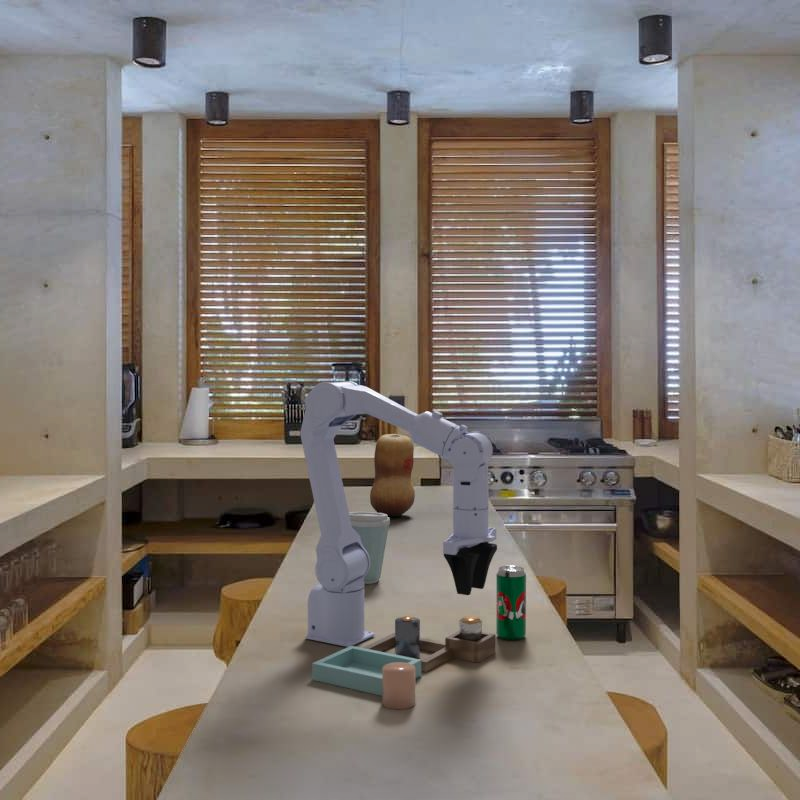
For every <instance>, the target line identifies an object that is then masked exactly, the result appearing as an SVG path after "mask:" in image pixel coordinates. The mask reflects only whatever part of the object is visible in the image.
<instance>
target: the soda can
mask: <svg viewBox="0 0 800 800" xmlns="http://www.w3.org/2000/svg"><path fill="white" fill-rule="evenodd" d="M495 576H496V578H495V579H496V582H495V584H496V587H495V588H496V592H495V593H496V596H495V598H496V599H495V600H496V602H495V603H496V605H495V606H496V611H495V612H496V615H495V616H496V625H495V626H496V627H495V628H496V635H497V637H498V638H500V639H501V640H504V641H509V640H510V641H513V642H515V641H521V640H523V639H524V638H525V636H527V574H526V572H525V568H524V567H523V566H520V565H502V566H500V567H498V571H497V572H496V575H495Z"/></svg>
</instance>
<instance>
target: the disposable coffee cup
mask: <svg viewBox="0 0 800 800" xmlns="http://www.w3.org/2000/svg"><path fill="white" fill-rule="evenodd" d="M349 516H350V521H351V525H352V528H353V529H354V530H355V531H356V532H357V533H358V534H359V535H360V538H361V542H362V545H363V547H364V548H365V550H366V551H367V552H368V554H369V557H370V568H369V571H368V572H367V574H366V575H365V576H364V585H366V584H367V585H370V584H371V585H372V584H376V583H378V582H379V581H380V579H381V575H382V568H383V564H384V557H385V552H386V546H387V545H386V544H387V538H388V532H389V527H390V525H391V520H390V519H391V518H390V517H388V515H387V514H383V513H377V512H376V511H375V512H374V511H373V512H372V511H350V512H349Z"/></svg>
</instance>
